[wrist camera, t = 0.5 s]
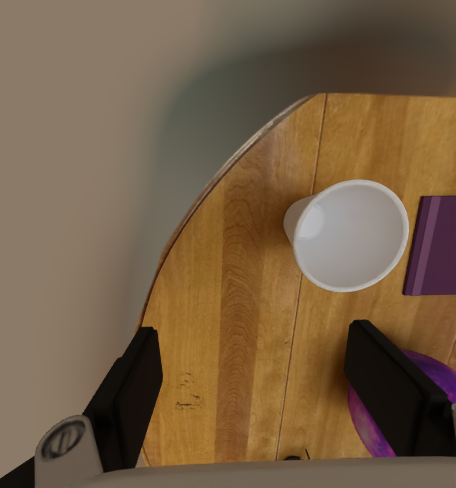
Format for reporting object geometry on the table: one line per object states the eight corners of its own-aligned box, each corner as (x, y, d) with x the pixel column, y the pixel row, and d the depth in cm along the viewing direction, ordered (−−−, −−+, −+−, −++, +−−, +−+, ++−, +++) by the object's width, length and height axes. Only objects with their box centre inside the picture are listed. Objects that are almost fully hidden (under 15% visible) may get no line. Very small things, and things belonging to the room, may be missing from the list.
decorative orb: (354, 316, 33) (456, 416, 19) (440, 342, 34) (598, 454, 20) (314, 392, 36) (373, 528, 22) (394, 413, 38) (500, 554, 23)
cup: (323, 265, 31) (375, 305, 20) (257, 244, 30) (276, 274, 19) (355, 197, 29) (432, 202, 18) (285, 171, 28) (322, 161, 17)
